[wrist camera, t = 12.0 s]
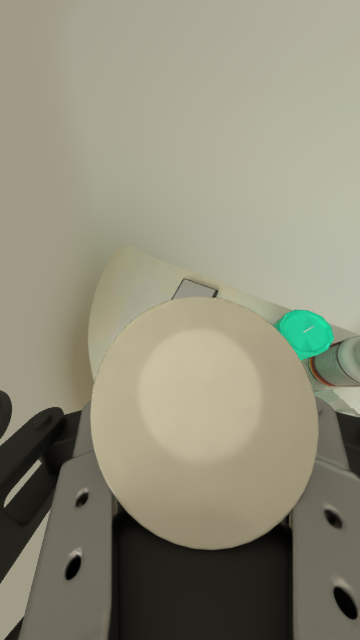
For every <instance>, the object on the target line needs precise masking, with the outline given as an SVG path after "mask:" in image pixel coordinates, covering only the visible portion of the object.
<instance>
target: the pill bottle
mask: <svg viewBox="0 0 360 640" xmlns="http://www.w3.org/2000/svg"><path fill="white" fill-rule="evenodd" d="M309 368H310V371H311V373H312V374H313V376H314V377H315V378H316V379H317V380H318V381H320V382H321V383H323V384H325V385H328V386H331V387H360V336H356V337H352V338H348V339H346V340H343V341H341V342H338V343H335V344H332V345H330V346H329V348H328V350H326V351H324V352H322V353H320V354H318V355H316V356H313V357H310V358H309Z"/></svg>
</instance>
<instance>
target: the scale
mask: <svg viewBox="0 0 360 640" xmlns="http://www.w3.org/2000/svg"><path fill="white" fill-rule="evenodd" d="M217 293H218V290H215V289H212V288H210V287H207V286H204V285H201V284H198V283H196V282H193V281H190V280H187V279H183V280H182V282H181V284H180V286H179V287H178V289H177V291H176V292H175V294H174V296H173V298H172V299H171V300H174V299H179V298H183V297H194V296H198V297H212V298H215V297H216V295H217Z"/></svg>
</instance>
